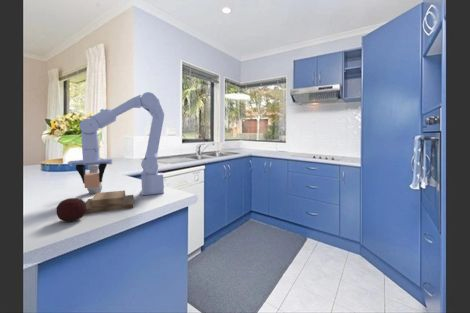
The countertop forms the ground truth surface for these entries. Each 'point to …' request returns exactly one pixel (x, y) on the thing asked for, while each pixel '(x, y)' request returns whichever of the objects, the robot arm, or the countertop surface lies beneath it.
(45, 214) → the countertop surface
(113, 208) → the base
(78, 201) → the potato
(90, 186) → the cube
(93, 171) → the salt shaker
